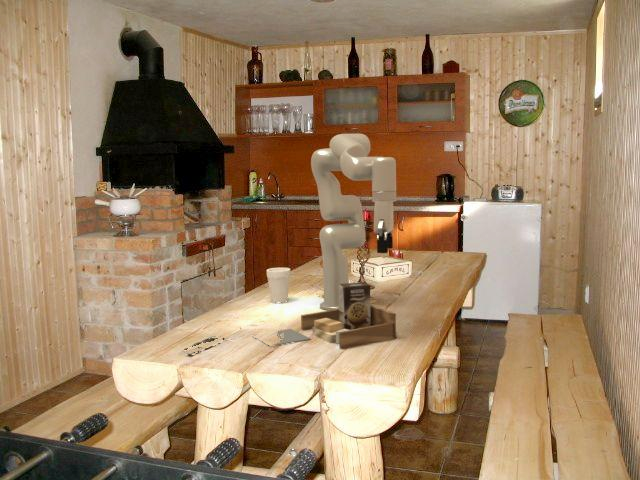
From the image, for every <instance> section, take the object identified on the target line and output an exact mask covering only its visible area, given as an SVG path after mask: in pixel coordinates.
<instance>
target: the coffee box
mask: <svg viewBox="0 0 640 480" xmlns="http://www.w3.org/2000/svg"><path fill="white" fill-rule="evenodd" d="M370 305H371V285H370V284H368V283H366V282H364V281H361V282H348V283H346V284H339V322H342V329H348V330H353V329H358V328H364V327H369V326H371V314H370Z"/></svg>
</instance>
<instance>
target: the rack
mask: <svg viewBox="0 0 640 480" xmlns="http://www.w3.org/2000/svg"><path fill="white" fill-rule="evenodd" d="M370 314H371V326H369V327H364V328H358V329H353V330H347V331H342V332H339V344H338V345H339V349H340V350H343V349H348V348H349V349H350V348H354V346H355V347H359V345H360V346H363V345H364V344H365V345H369V343H370V344H373V343H379V342H384V341H388V340H394V339H397V319H396V318H397V315H396V314H397V312H396V313H395V312H392V311H390V310H386V309H383V308H380V307H378V306H375V305H372V304H370ZM323 318H329V319H332V320H335V321H339V309H336V310H326V311H317V312H313V313H306V314H301V315H300V320H301V322H300V323H301V324H300V325H301V328H300V329H301V331H307V330H312V327H314V320H319V319H323Z"/></svg>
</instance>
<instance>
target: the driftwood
mask: <svg viewBox="0 0 640 480" xmlns="http://www.w3.org/2000/svg"><path fill="white" fill-rule="evenodd" d="M212 337H216V336H214V335H213V336H211V337H208V338H205V339H203V340H201V341H199V342H196V343H194V344H192V345H191V346H192V347H193V346H196V345H199V344H201V343H202V342H203V343H206V342H211V341H214V340H215V339H218V338H212ZM209 338H210V339H209ZM187 349H188V347H185V348H184V349H183V350H187ZM192 354H193V353H187V355H189V356H193V355H192Z"/></svg>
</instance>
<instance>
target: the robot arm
mask: <svg viewBox="0 0 640 480" xmlns="http://www.w3.org/2000/svg"><path fill="white" fill-rule="evenodd" d="M328 146H329V147H328V148H320V149H317V150H315V151H314V152H313V153H312V156H311V160H310V166H311V172H312V175H313V178H314V180H315V183H316V186H317V192H318V201H319V202H318V203H319V209H320V214H321V217H322V220H324V221H327V222H338V221H340V222H341V221H348V223H335V224H328V225H325V226H323V227H322V228H321V229H320V230H319V235H318V236H319V242H320V247H321V256H322V277H323V279H322V281H323V283H322V284H323V294H322V295H321V298H322V299H323V301H322V302H320V304H319V308H320V309H322V310H326V311H330V310H336V309H339V284H346V283H349V261H348V258H347V257H346V255H345V254H344V253H343V251H342V250H346V249H357V248H361V247H363V246H364V244H365V243H366V229H365V220H364V212H363V205H362V202H361V201H360V198H359V197H357V196H356V195H354V194H347V195H346V194H345V195H343V194H342V192H341V191H342V190H341V183H340V181H339V180H338V179H337V177H336V176H335V174H333V173H332V172H342V174H343V175H344V176H345V177H346V178H348V179H349V180H352V181H355V182H356V181H357V182H359V181H371V192H372V194H371V197H372V201H371V202H372V203H374V210H373V233H374V234H376V235H377V237H376V239H377V240H376V252H377V254H388V252H389V251H388V249H393V247H394V246H393V245H394V242H393V241H394V238H393V230H394V202H397V164H396V163H397V162H396V159H395V158H394V157H393V156H392V157H391V156H386V157H385V156H369V154H370V152H371V141H370V139H369V137H368V136H367V135H365V134H363V133H340V134H336V135H335V136H333V137H332V138H331V139H330V141H329V145H328Z"/></svg>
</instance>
